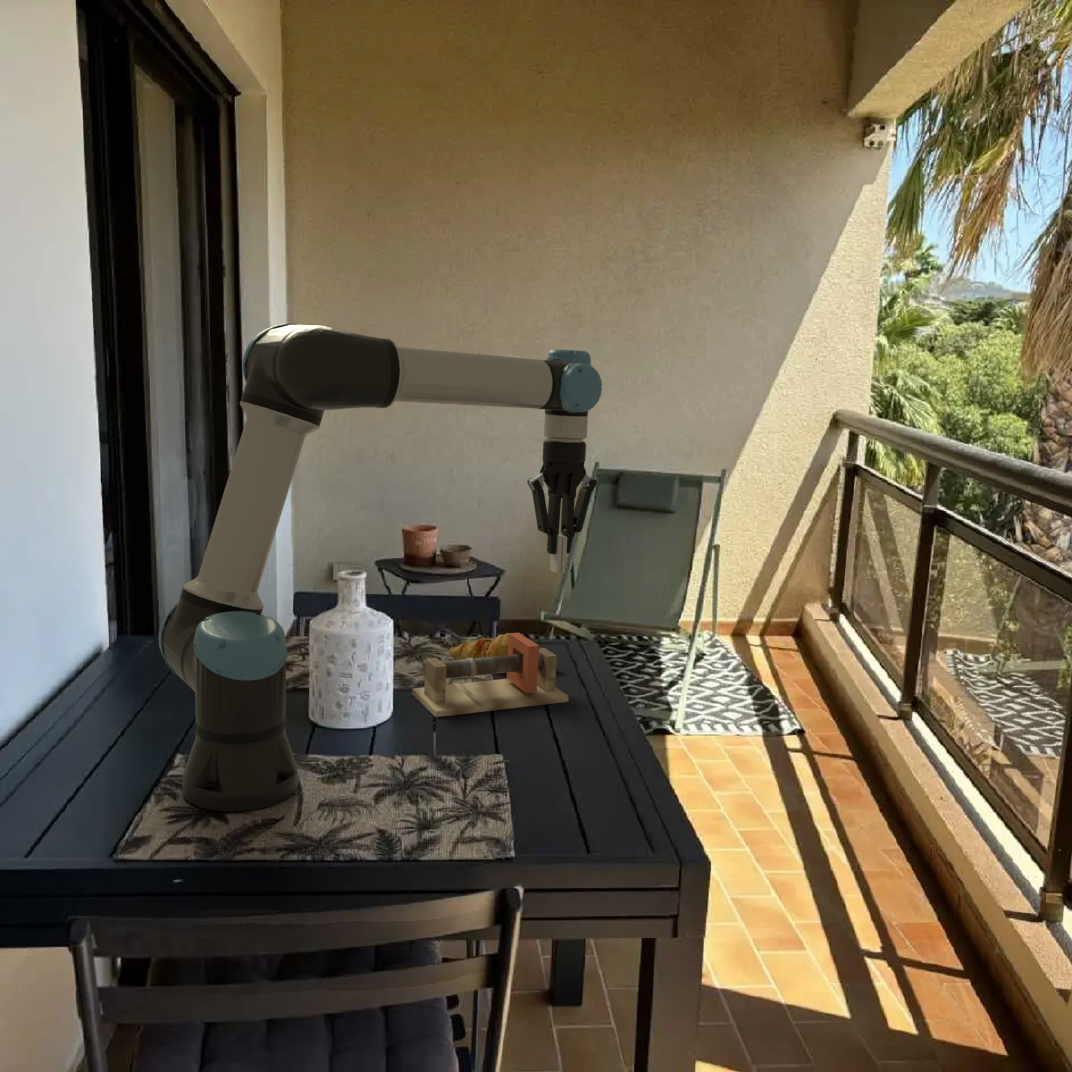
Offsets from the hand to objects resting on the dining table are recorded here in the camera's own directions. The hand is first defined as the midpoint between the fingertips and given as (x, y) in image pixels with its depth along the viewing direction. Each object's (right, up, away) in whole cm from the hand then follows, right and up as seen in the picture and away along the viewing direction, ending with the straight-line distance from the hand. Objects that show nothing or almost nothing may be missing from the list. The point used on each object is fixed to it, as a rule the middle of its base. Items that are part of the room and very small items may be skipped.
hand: (557, 571), depth 180 cm
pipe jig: (-12, -22, -1) cm, 25 cm away
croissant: (-11, -19, +18) cm, 28 cm away
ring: (-7, -20, +1) cm, 22 cm away
